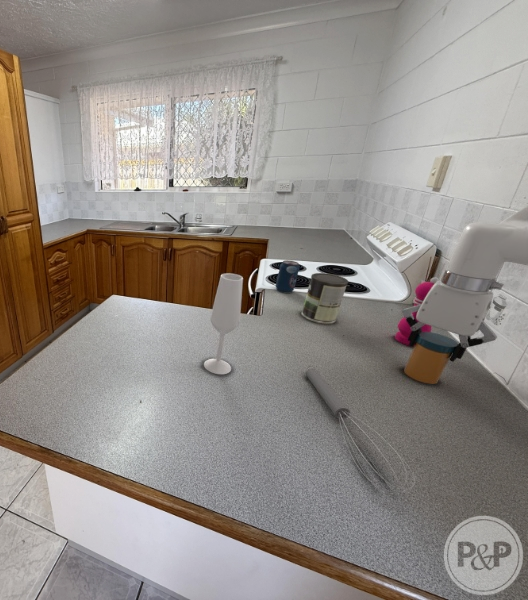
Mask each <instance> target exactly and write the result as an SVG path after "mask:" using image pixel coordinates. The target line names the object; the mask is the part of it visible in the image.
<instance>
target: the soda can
mask: <svg viewBox="0 0 528 600" xmlns="http://www.w3.org/2000/svg"><path fill="white" fill-rule="evenodd" d="M299 265H300V264H299V262H298V261H294V260H288V259H287V260H285V259H284V260H283V261H282V263H281V264H280V265H279V269H278V273H277V278H276V283H275V288H276V291H278V292H280V293H283V294H290V293H293V291H294V290H295V287H296V283H297V279H298V276H299V272H300V266H299Z"/></svg>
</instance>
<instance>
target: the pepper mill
mask: <svg viewBox="0 0 528 600" xmlns="http://www.w3.org/2000/svg"><path fill="white" fill-rule="evenodd" d="M437 281H440V278H438V277H436V276H435V277H432V278H430V281H424V282H421V283H419V284H418V285H417V286H416V288H415V290H414V293H415V295H416V296H415V297H414V299H413V300H412V302H413V306H417V305H421V304H422V303H423V301H424V299H425V297H426V296H427V294H428V292H429V291H430V289H431V288H432V287H433V285H434V284H435V283H436V282H437ZM417 313H418V311H417V312H413V313H412V315H413V317H414V318H415V319H416V315H417ZM416 321H417V322H419V321H418V320H417V319H416ZM397 329H398V331H397V332H396V334H395V337H394V339H395V340H396V341H397V342H398V343H400V344H403V345H405V346H409V343H410V341H408V338H409V336H410V333H411V331H412V330H411V327H410V326H409V324H408V323H407V321H406V318H405V317H404V316H403V317H402V318H401V319H400V320H399V321H398V323H397ZM421 329H422V332H432V326H430V325H427V324H425V325H424V326H422V327H421ZM414 346H415V345H414ZM414 346H413V347H414Z"/></svg>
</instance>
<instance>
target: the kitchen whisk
mask: <svg viewBox="0 0 528 600" xmlns="http://www.w3.org/2000/svg"><path fill="white" fill-rule="evenodd" d="M311 367H312V368H311ZM305 374H306V377H307V378H308V380H309V381H310V382H311V384H312V385H313V387H314V388H315V390H316V391H317V392H318V394H319V395H320V397H321V398H322V400H323V401H324V402H325V404H326V405H327V406H328V408H329V409H330V411H331V412H332V413H333V415H334V416H335V418H337V419H338V421H339V424H340V428H341V433H342V436H343V439H344V442H345V445H346V447H347V450H348V452H349V454H350V456H351V458H352V460H353V461H354V463H355V465H356V466H357V468H358V470H359V471H360V472H361V474H362V475H363V476H364V477H365V478H366V479H367V480H368V481H369V482H370V483H371V484H372V485H373V486H374V487H375V488H376V489H377V490H378V491H380V492H381V493H382V494H386V495H392V496H393V495H396V496H397V497H402V493H404V494H410V493H411V490H412V489H413V487H414V486H415V484H416V480H415V474H414V472H413V471H412V469H411V468H410V466H409V464H408V463H407V462H406V461H405V459H403V457H402V456H401V455H400V454H399V453H398V452H397V450H395V448H393V446H392V445H391V444H390V443H389V442H388V441H387V440H386V439H385V438H384V437H383V436H382V435H380V434H379V433H378V432H377V431H376V430H374V429H373V428H372V427H371V426H369V425H368V424H366V423H365V422H364V421H362V420H361V419H359V418H358V417H356V416H355V415H353V414H351V411H350V409H349V408H348V407H347V406H346V404H344V402H343V401H342V400H341V398H340V397H339V396H338V395H337V393H336V392H335V391H334V389H333V388H332V387H331V385H329V383H328V382H327V381H326V380H325V378H324V377H323V376H322V374H321V373H320V372H319V370H317V369H316V367H315V366H313V365H308V367H307V368H306V370H305ZM352 418H353V419H354V420H356V421H357V422H358V423H359V424H361V425H362V426H364V427H365V428H366V429H368V430H369V431H370V432H371V433H373V434H374V435H375V436H376V437H378V438H379V439H380V440H381V441H382V442H383V443H385V444H386V445H387V446H388V447H389V448H390V449H391V450H392V451H393V452H394V453H395V454H396V455H397V457H398V458H399V460H400V462H401V463H402V465H403V468H404V472H405V478H404V476H403V475H402V474H401V473H400V471H399V470H398V469H397V468H396V467H395V465H394V464H393V463H392V461H390V460H389V458H388V457H387V456H386V455H385V454H384V453H383V452H382V450H381V449H379V447H378V446H377V444H375V443H374V441H373V440H372V439H371V438H370V437H369V436H368V434H367V433H366V432H365V431H364V430H363V429H362V427H360V426H359V425H358V424H357V423H356V422H355V421H354V420H353V419H352ZM346 419H348V420H350V421H351V423H352V424H353V425H354V426H356V428H357V429H358V430H359V431H360V432H361V433H362V435H364V436H365V437H366V438H367V439H368V440H369V441H370V442H371V443H372V444H373V446H374V447H375V448H376V449H377V450H378V452H379V453H380V454H381V456H382V457H383V459H384V460H385V461H386V463H387V465H388V466H389V468H390V469H391V472H392V473H393V475H394V477H395V479H396V481H397V484H398V487H396V486H394V485H393V484H391V483H390V482H389V481H387V480H386V479H385V478H384V476H383V475H382V474H381V472H380V471H379V470H378V468H377V467H376V465H375V464H374V463H373V461H372V460H371V458H370V457H369V455H368V453H367V452H366V450H365V449H364V447H363V445H362V444H361V443H360V441H359V439H358V438H357V436H356V434H355V433H354V431H353V429H352V428H351V426H350V424H349V423H348V421H347V420H346ZM345 423H346V424H347V425H346V424H345ZM347 426H348V427H347ZM348 428H349V429H350V431H351V433H352V434H353V436H354V438H355V439H356V440H357V442H358V444H359V445H360V447H361V448H362V450H363V452H364V453H365V455H366V456H367V458H368V459H369V461H370V462H371V463H370V462H369V461H368V460H367V459H366V457H365V455H364V454H363V452H361V450H360V448H359V447H358V446H357V444H356V442H355V440H354V439H353V437H352V436H351V433H350V431H349V429H348ZM344 433H345V434H344ZM345 435H346V437H345ZM348 435H349V436H348ZM349 437H350V439H351V441H352V443H353V444H354V445H355V447H356V449H357V450H358V451H359V454H360V455H361V456H362V458H363V459H364V460H365V461H366V463H367V464H368V465H369V467H370V468H371V469H372V470H373V471H374V472H375V473H376V474H377V475H378V476H379V477H380V478H381V479H382V480H383V481H384V482H385V484H386V485H387V486H388V487H389V488H390V490H389V489H387V488H383V487H381V486H379V485H377V484H376V483H374V482H373V481H372V480H371V479H370V478H369V476H368V474H367V473H366V472H365V470H364V467H363V466H362V465H361V462H360V461H359V459H358V457H357V455H356V453H355V450H354V448H353V446H352V444H351V441H350V439H349ZM346 438H347V439H346ZM347 441H348V443H349V445H348V443H347ZM349 446H350V448H351V450H350V448H349ZM351 451H352V452H351ZM352 453H353V455H352ZM354 457H355V458H354ZM355 459H356V460H355ZM356 461H357V462H356ZM371 464H372V465H373V466H372V465H371ZM405 465H406V466H407V468H408V470H409V471H410V473H411V474H412V479H413V483H412V485H411V487H410V486H409V484H408V482H407V481H408V480H407V479H408V471H407V468H406V466H405ZM359 466H360V467H359ZM392 467H393V468H394V469H395V471H396V472H397V473H398V474H399V476H400V477H401V478H402V480H403V481H404V483H403V485H402V486H401V484H400V481H399V479H398V477H397V475H396V473H395V471H394V469H393V468H392ZM405 485H406V486H407V489H404V487H405ZM394 489H396V490H394ZM403 489H404V490H403ZM385 491H386V492H385ZM407 491H408V492H407ZM398 493H399V494H398Z"/></svg>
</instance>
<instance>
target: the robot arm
mask: <svg viewBox="0 0 528 600" xmlns="http://www.w3.org/2000/svg"><path fill="white" fill-rule="evenodd" d="M506 262H507V263H514V264H519V265H522V266H523V265H524V266H528V204H527V205H526V206H524V207H522V208H521V209H519V210H517V211H516V212H514V213H512V214H511V215H508V217H506V218H505V219H503V220H502V221H500V222H487V221H474V222H470V223H468V224H467V225H466V226H465V227H464V228H463V230H462V232H461V234H460V237H459V239H458V240H457V243H456V245H455V247H454V250H453V252H452V254H451V256H450V259H449V261H448V263H447V266H446V268H445V270H444V273H443V275H442V276H441V279H440V280H439V281H437V282H436V283H435V284H434V285H433V287H432V288H431V289H430V291H429V292H428V294H427V296H426V297H425V299H424V301H423V303H422V304H421V305H417V306H414V305H413V306H411V307H407V308H406V307H405V308H403V309H402V310H401V313H402V315H403V318H404V317H405V318H406V321H407V323H408V324H409V326H410V327H411V330H412V331H411V333H410V336H409V338H408V341H410V343H409V345H408V346H409V347H414V345H415V344H416V342H417V341H416V339H417V337H418V335H419V333H420V332H422V329H421V327H422V326H424V325H425V324H427V325H430V326H431V327H433V328H436V329H440V330H442V331H446V332H449V333H453V334H455V335H458V339H459V343H458V345H457V346H456V348H455V350H454V352H453V353H452V355H451V357H450V359H449V361H450V362H452V363H454V362H455V361H456V360H457V359H458V360H461V359H462V358H463V356H464V354H465V353H466V351H467V349H468V348H471V347H475V346H479V345H482V344H486V343H487V344H488V343H489V342H493V341H496V340H497V339H498V335H497V334H496V333H495V332H494V331H493V330H492V329H491V327H490V326H489V325H488V324H487V323H486V322H485V319H486V317H487V315H488V313H489V310H490V307H491V305H492V301H493V297H494V292H493V291H492V290H498V291H501V290H502V288H504V287H503V286H504V285H505V283H502V282H499V281H497V277H498V275H499V273H500V270H501V268H502V267H503V265H504V263H506ZM417 311H418V313H417V315H416V319H417V320H418V321H419V322H417V321H416V319H415V318H414V317H413V315H412V313H413V312H417ZM479 331H480V332H481V334H482V336H478V337H474V338H473V337H472V336H475V334H476V333H477V332H479Z"/></svg>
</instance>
